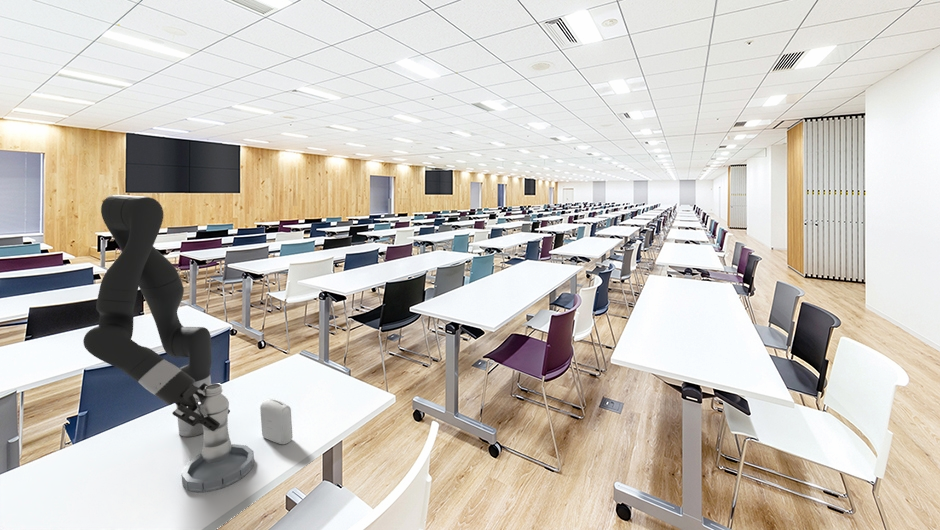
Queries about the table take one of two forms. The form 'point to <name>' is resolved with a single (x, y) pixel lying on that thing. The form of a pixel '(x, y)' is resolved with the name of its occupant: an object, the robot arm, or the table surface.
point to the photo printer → (276, 421)
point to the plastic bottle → (218, 440)
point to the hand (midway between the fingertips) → (222, 420)
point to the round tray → (218, 470)
